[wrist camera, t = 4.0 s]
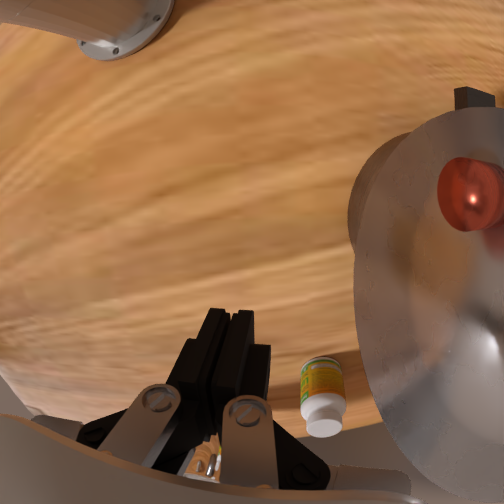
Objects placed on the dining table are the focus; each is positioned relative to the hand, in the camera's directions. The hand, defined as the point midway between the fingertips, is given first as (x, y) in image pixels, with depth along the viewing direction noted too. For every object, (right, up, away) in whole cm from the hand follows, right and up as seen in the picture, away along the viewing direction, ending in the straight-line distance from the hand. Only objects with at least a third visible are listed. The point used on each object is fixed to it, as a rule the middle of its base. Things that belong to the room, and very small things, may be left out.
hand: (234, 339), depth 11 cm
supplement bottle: (+10, -12, +25) cm, 29 cm away
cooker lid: (+11, 0, -1) cm, 11 cm away
